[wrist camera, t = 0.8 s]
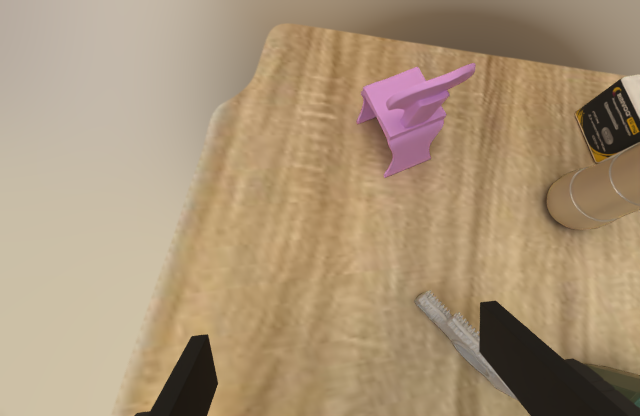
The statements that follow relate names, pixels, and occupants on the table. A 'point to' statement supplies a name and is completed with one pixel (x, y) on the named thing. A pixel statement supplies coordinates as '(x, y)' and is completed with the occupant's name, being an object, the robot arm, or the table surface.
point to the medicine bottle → (612, 119)
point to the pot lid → (636, 399)
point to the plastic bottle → (597, 192)
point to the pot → (619, 379)
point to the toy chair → (410, 112)
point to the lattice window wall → (460, 337)
